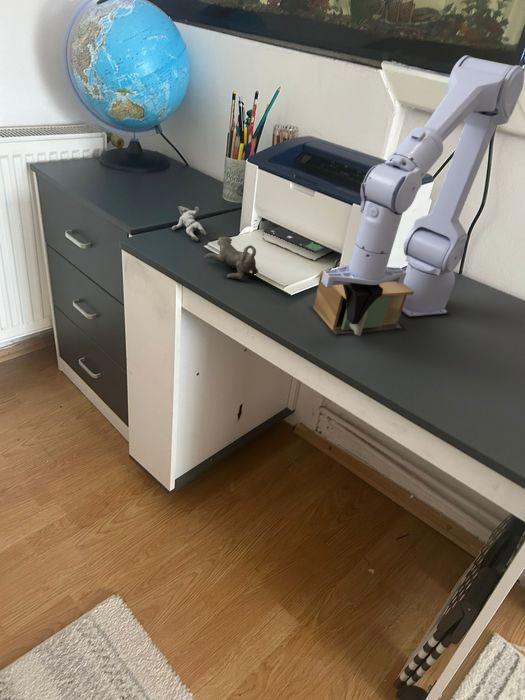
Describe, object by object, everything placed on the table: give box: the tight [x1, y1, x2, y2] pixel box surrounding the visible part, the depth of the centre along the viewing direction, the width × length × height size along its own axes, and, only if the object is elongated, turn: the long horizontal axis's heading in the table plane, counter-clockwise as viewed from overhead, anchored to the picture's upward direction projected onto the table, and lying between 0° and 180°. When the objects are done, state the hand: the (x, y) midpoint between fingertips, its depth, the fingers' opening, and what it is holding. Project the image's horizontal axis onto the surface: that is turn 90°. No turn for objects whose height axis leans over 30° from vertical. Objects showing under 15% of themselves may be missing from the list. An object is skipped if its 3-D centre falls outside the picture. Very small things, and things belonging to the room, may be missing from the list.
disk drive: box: [262, 227, 325, 253], centre depth 123 cm, size 10×3×15 cm
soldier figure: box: [171, 205, 207, 242], centre depth 120 cm, size 8×5×12 cm
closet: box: [312, 270, 414, 336], centre depth 96 cm, size 14×9×8 cm
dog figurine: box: [203, 236, 259, 280], centre depth 105 cm, size 12×6×7 cm, turn 44°
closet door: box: [341, 296, 391, 336], centre depth 92 cm, size 8×4×6 cm, turn 112°
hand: (352, 320), depth 89 cm, fingers closed
